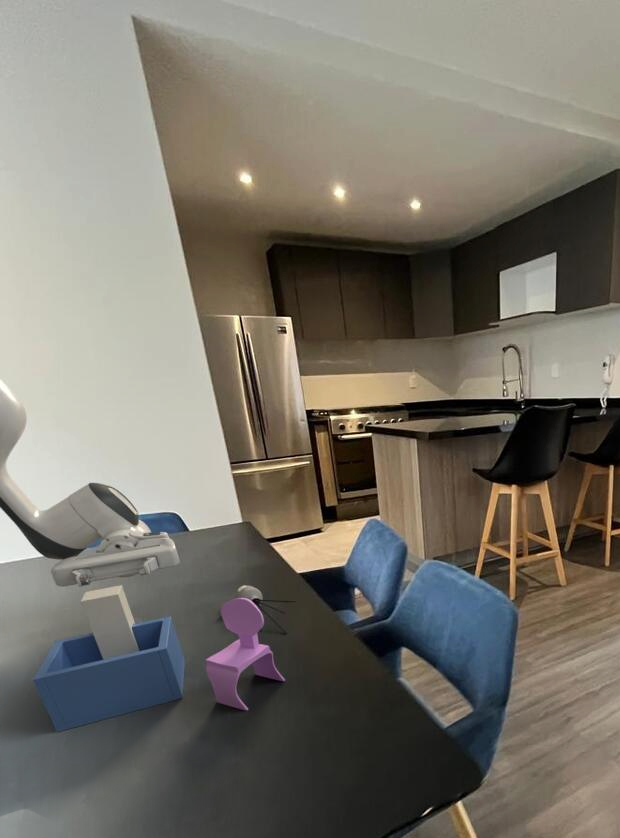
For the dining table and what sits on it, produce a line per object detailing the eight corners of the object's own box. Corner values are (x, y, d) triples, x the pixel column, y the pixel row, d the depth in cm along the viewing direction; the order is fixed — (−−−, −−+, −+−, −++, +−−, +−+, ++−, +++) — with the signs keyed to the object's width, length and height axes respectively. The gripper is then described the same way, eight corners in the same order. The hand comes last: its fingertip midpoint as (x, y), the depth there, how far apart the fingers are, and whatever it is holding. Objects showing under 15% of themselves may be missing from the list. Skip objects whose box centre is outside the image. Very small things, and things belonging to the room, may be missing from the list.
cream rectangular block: (105, 665, 79) (80, 601, 75) (109, 653, 83) (85, 591, 78) (140, 657, 81) (118, 594, 77) (143, 646, 85) (121, 585, 80)
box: (57, 732, 71) (32, 679, 67) (75, 688, 81) (55, 640, 78) (182, 698, 77) (166, 648, 73) (185, 661, 87) (170, 615, 84)
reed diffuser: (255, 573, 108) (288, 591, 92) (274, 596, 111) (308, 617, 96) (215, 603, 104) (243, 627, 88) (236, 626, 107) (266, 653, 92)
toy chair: (209, 702, 75) (182, 615, 69) (251, 672, 82) (230, 590, 77) (249, 714, 72) (225, 623, 66) (290, 681, 79) (271, 597, 73)
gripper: (56, 549, 94) (35, 571, 82) (175, 530, 101) (171, 548, 90) (68, 579, 96) (49, 605, 84) (183, 559, 104) (181, 580, 92)
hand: (113, 576), depth 87 cm, fingers open, 8 cm apart
